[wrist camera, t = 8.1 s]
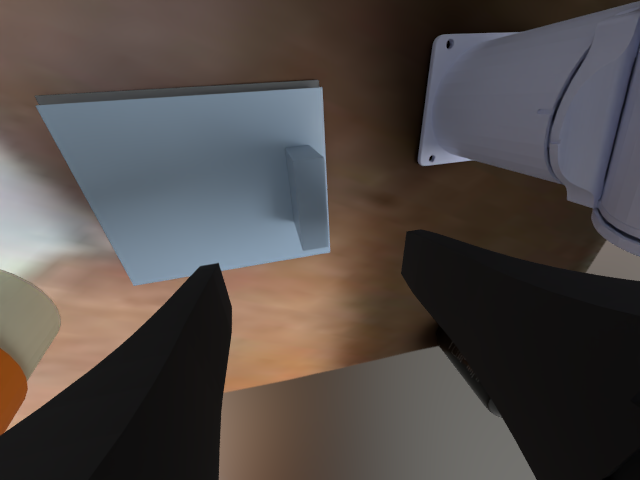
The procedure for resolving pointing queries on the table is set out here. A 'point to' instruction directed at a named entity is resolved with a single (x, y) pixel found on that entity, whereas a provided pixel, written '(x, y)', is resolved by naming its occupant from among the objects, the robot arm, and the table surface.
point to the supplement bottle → (465, 370)
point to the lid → (201, 177)
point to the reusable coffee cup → (21, 339)
